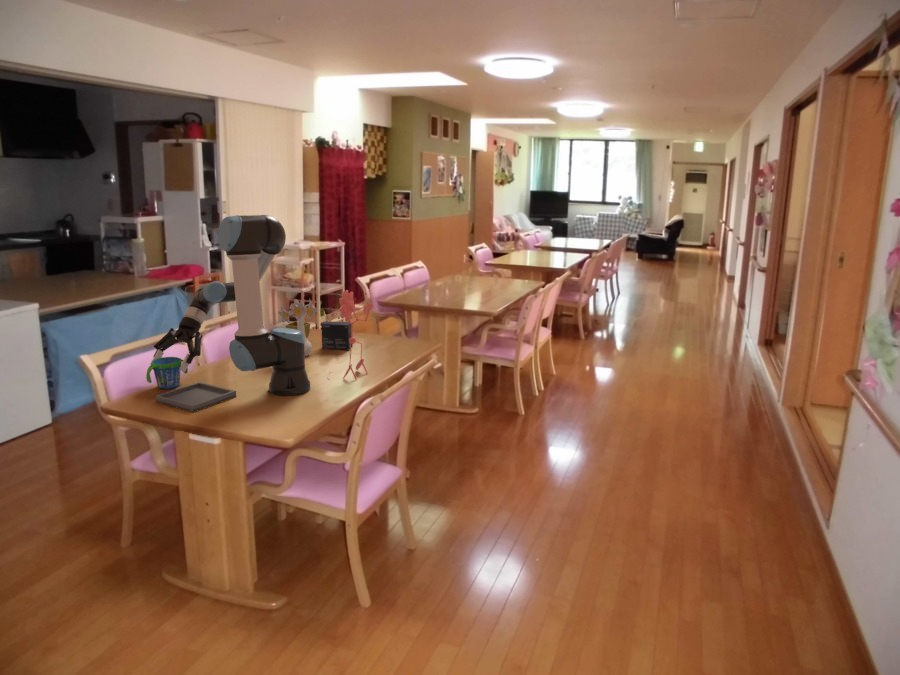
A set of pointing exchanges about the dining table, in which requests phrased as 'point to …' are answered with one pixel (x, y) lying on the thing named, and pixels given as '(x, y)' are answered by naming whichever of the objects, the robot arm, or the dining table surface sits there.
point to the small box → (336, 335)
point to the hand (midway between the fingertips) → (167, 368)
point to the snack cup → (166, 372)
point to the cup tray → (195, 396)
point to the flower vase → (300, 318)
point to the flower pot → (295, 326)
